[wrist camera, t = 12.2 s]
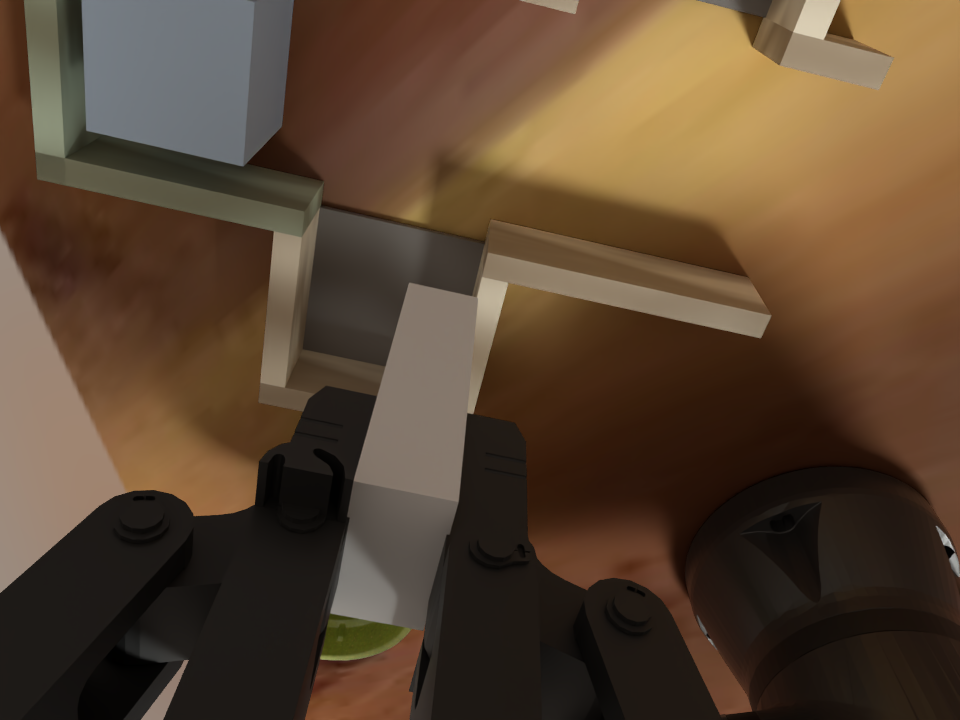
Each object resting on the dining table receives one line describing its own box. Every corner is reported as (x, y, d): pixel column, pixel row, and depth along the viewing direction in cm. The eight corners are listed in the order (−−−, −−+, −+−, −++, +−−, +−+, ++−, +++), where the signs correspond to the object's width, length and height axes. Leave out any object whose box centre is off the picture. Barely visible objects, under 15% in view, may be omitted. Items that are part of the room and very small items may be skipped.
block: (282, 126, 36) (243, 166, 30) (148, 94, 35) (86, 130, 30) (295, -17, 33) (254, 2, 27) (149, -53, 32) (80, -41, 27)
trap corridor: (675, 442, 44) (689, 489, 40) (89, 321, 41) (50, 360, 38) (973, -228, 28) (1037, -244, 25) (54, -494, 25) (-17, -553, 22)
